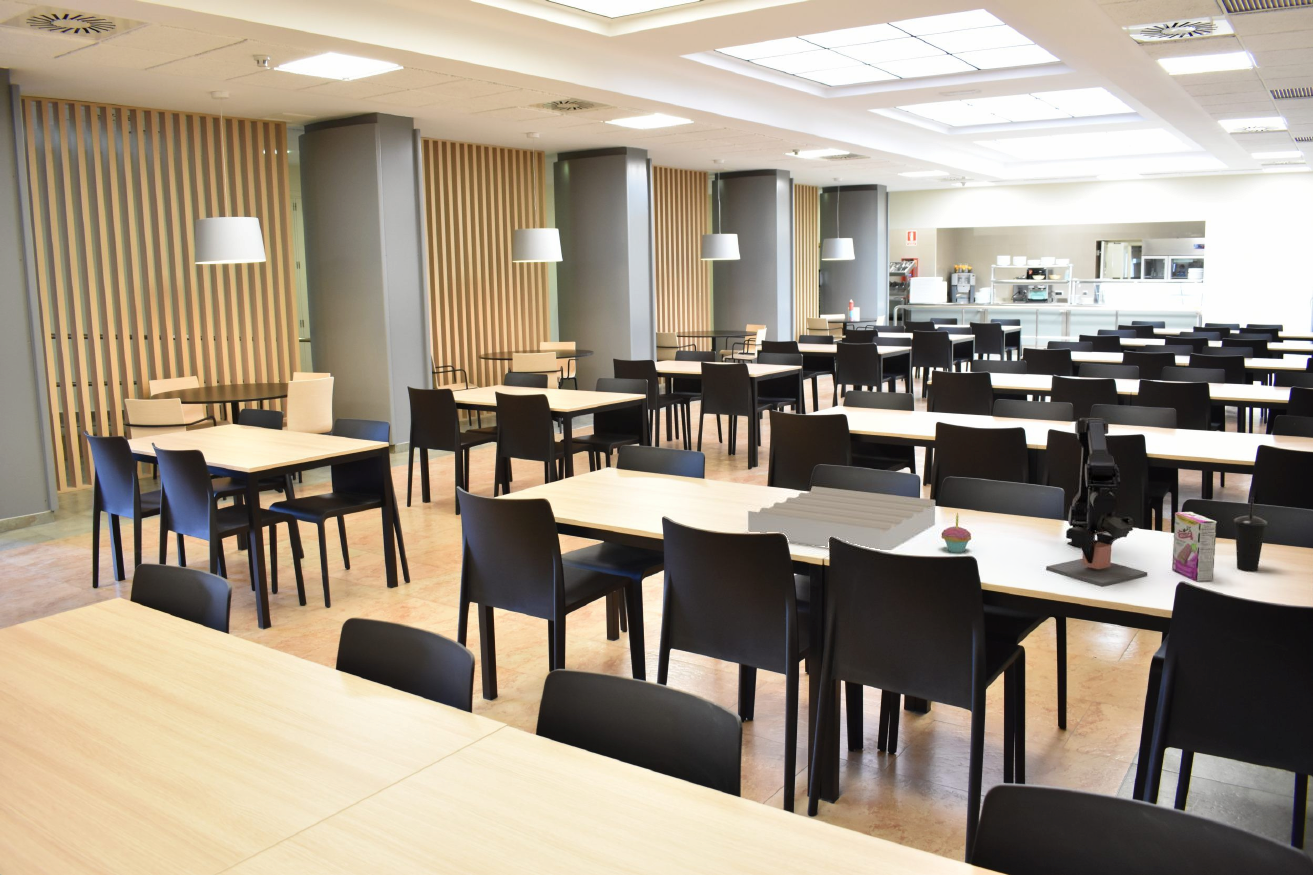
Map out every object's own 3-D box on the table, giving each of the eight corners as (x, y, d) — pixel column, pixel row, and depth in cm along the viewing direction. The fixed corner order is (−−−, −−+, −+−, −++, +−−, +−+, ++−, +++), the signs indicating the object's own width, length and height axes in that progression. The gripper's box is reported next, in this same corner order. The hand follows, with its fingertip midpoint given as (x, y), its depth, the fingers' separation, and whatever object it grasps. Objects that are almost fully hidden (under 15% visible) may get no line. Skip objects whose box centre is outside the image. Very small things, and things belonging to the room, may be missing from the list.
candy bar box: (1170, 570, 268) (1173, 511, 265) (1187, 569, 268) (1191, 511, 266) (1195, 582, 257) (1199, 521, 254) (1214, 581, 257) (1218, 520, 255)
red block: (1094, 562, 270) (1095, 541, 269) (1110, 566, 266) (1111, 545, 265) (1082, 564, 268) (1083, 543, 267) (1097, 569, 263) (1099, 547, 262)
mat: (1090, 560, 279) (1090, 556, 279) (1147, 575, 263) (1147, 572, 263) (1046, 569, 271) (1046, 566, 270) (1102, 586, 255) (1102, 582, 255)
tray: (812, 510, 350) (812, 486, 348) (934, 526, 324) (935, 499, 322) (748, 538, 314) (748, 510, 312) (880, 558, 288) (880, 528, 286)
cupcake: (972, 554, 287) (973, 514, 285) (942, 553, 289) (943, 514, 287) (968, 547, 296) (970, 508, 294) (939, 546, 297) (940, 507, 295)
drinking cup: (1224, 565, 271) (1229, 495, 268) (1250, 564, 271) (1255, 494, 268) (1243, 573, 263) (1248, 501, 260) (1270, 572, 264) (1275, 500, 261)
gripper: (1101, 515, 253) (1098, 574, 255) (1148, 507, 261) (1145, 563, 264) (1065, 507, 262) (1063, 563, 265) (1112, 499, 271) (1109, 553, 273)
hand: (1096, 561), depth 266 cm, fingers closed on red block, 5 cm apart
